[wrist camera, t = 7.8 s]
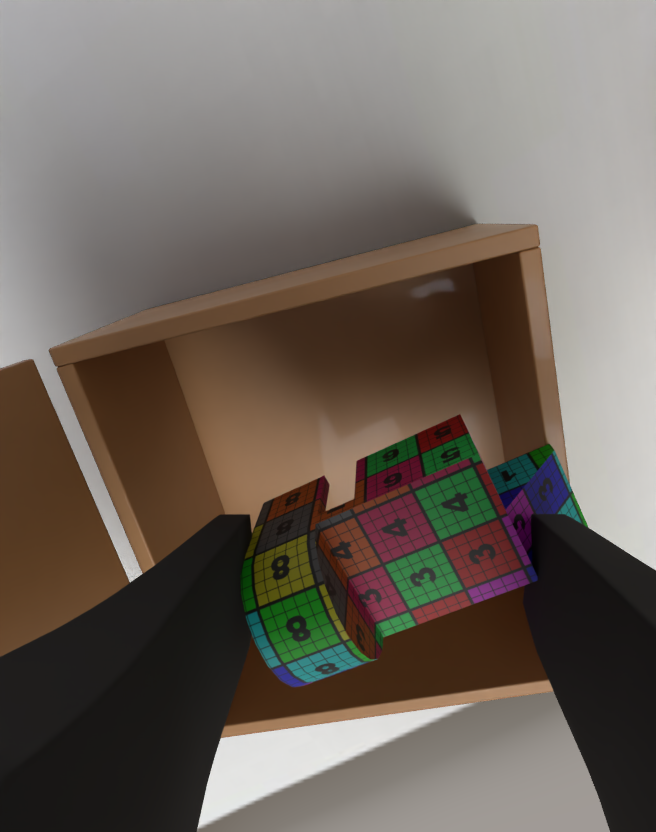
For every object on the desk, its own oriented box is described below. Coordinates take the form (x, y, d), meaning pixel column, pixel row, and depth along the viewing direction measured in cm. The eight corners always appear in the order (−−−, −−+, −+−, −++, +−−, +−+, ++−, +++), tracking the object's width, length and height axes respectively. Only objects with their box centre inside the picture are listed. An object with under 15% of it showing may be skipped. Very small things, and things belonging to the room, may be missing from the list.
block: (348, 638, 13) (341, 771, 10) (263, 502, 12) (224, 603, 9) (594, 546, 12) (675, 665, 9) (524, 385, 11) (588, 454, 8)
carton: (251, 605, 20) (211, 740, 14) (145, 309, 16) (46, 349, 11) (530, 557, 18) (595, 686, 13) (478, 223, 15) (538, 224, 10)
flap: (208, 762, 14) (199, 758, 14) (33, 358, 11) (24, 360, 11) (43, 993, 10) (33, 985, 10) (-312, 477, 7) (-317, 477, 7)
